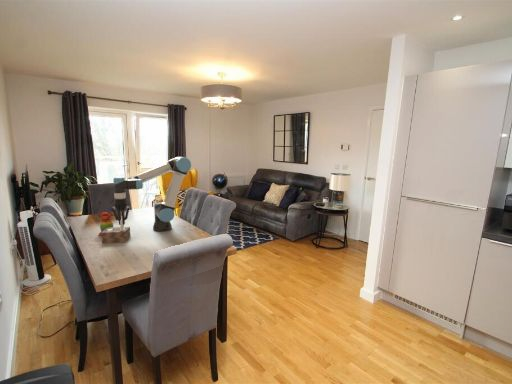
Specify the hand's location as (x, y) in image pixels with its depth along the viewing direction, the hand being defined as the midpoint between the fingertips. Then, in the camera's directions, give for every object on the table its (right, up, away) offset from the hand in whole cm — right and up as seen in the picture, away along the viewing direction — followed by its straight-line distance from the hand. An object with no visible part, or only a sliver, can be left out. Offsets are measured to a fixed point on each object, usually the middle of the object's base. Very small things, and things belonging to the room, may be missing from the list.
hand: (122, 228), depth 198 cm
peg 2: (0, -8, +1) cm, 8 cm away
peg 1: (-9, -8, 0) cm, 12 cm away
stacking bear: (-19, -6, +13) cm, 24 cm away
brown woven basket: (-4, -8, +1) cm, 10 cm away
